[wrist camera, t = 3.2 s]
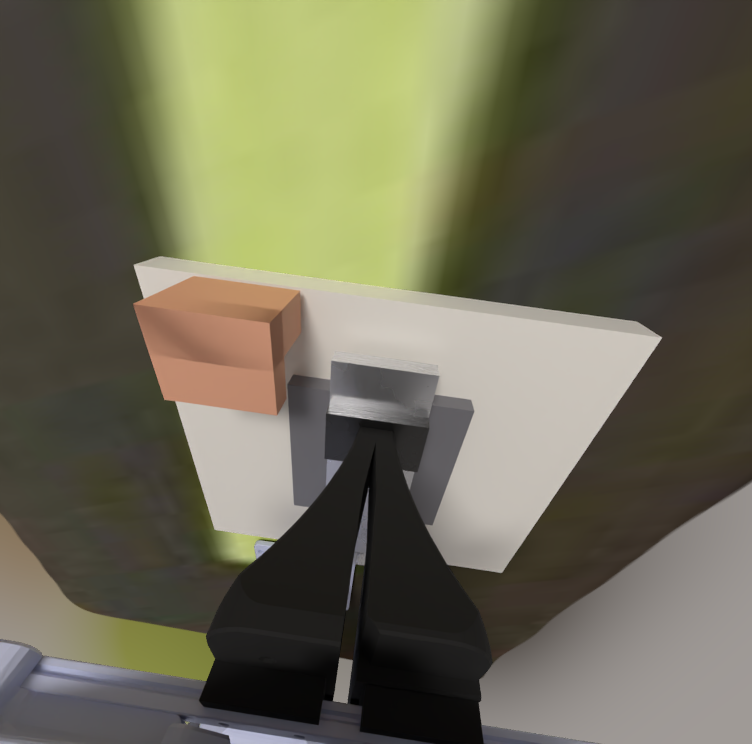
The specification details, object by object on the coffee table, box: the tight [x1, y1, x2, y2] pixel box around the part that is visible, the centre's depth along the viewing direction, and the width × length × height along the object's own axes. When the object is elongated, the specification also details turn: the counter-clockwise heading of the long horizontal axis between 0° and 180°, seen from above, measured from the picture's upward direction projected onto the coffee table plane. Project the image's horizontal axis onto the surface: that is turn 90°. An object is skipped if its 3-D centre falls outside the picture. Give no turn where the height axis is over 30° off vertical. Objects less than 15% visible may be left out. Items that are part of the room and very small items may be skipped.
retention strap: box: [324, 351, 439, 565], centre depth 15 cm, size 14×4×2 cm, turn 174°
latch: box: [133, 276, 301, 416], centre depth 11 cm, size 4×4×3 cm
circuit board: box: [134, 256, 662, 573], centre depth 16 cm, size 18×20×4 cm
